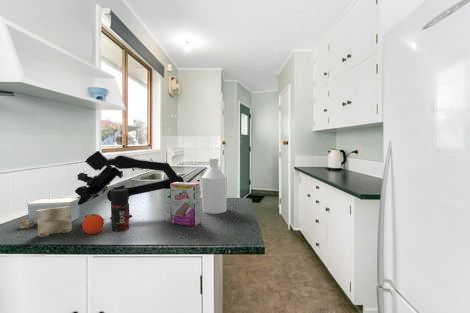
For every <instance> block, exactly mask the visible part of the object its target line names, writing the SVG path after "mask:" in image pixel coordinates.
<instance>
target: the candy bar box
mask: <svg viewBox="0 0 470 313" xmlns="http://www.w3.org/2000/svg"><path fill="white" fill-rule="evenodd" d="M169 192H170V194H169V195H170V196H169V197H170V199H169V200H170V202H169V203H170V224H172V225H180V226H188V227H196V226H198V225H199V224H201V184H200V183H198V182H185V181H184V182H174V183H171V184H170V189H169Z"/></svg>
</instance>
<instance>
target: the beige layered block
mask: <svg viewBox="0 0 470 313" xmlns="http://www.w3.org/2000/svg"><path fill="white" fill-rule="evenodd" d="M37 222H38V224H37V236H38V237H40V238H44V237H49V235H53V234H58V233H62V234H65V233H71V231H73V225H72V224H73V223H72V222H73V221H71V206H66V207H58V208H50V209H42V210H37Z"/></svg>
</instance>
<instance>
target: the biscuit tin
mask: <svg viewBox="0 0 470 313" xmlns="http://www.w3.org/2000/svg"><path fill="white" fill-rule="evenodd" d="M79 200H80V198H77V197H76V198H74V197H73V198H52V199H51V198H47V199H46V198H45V199H44V198H43V199H37V200H35V201H31V202H28V203H27V209H28V210H27V212H28V213H27V215H28V216H27V217H28V218H34V225H38V222H37V210H42V209H50V208H58V207H66V206H71V221H72V222H74V221H76V220H77V219H79V218H80V205H78V202H79Z"/></svg>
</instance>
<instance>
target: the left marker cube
mask: <svg viewBox="0 0 470 313" xmlns="http://www.w3.org/2000/svg"><path fill="white" fill-rule="evenodd" d="M34 226H35V224H34V218H29V217H28V218H27V217H26V218H23V219H21V220H19V228H20V229H30V228H31V227H34Z"/></svg>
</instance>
